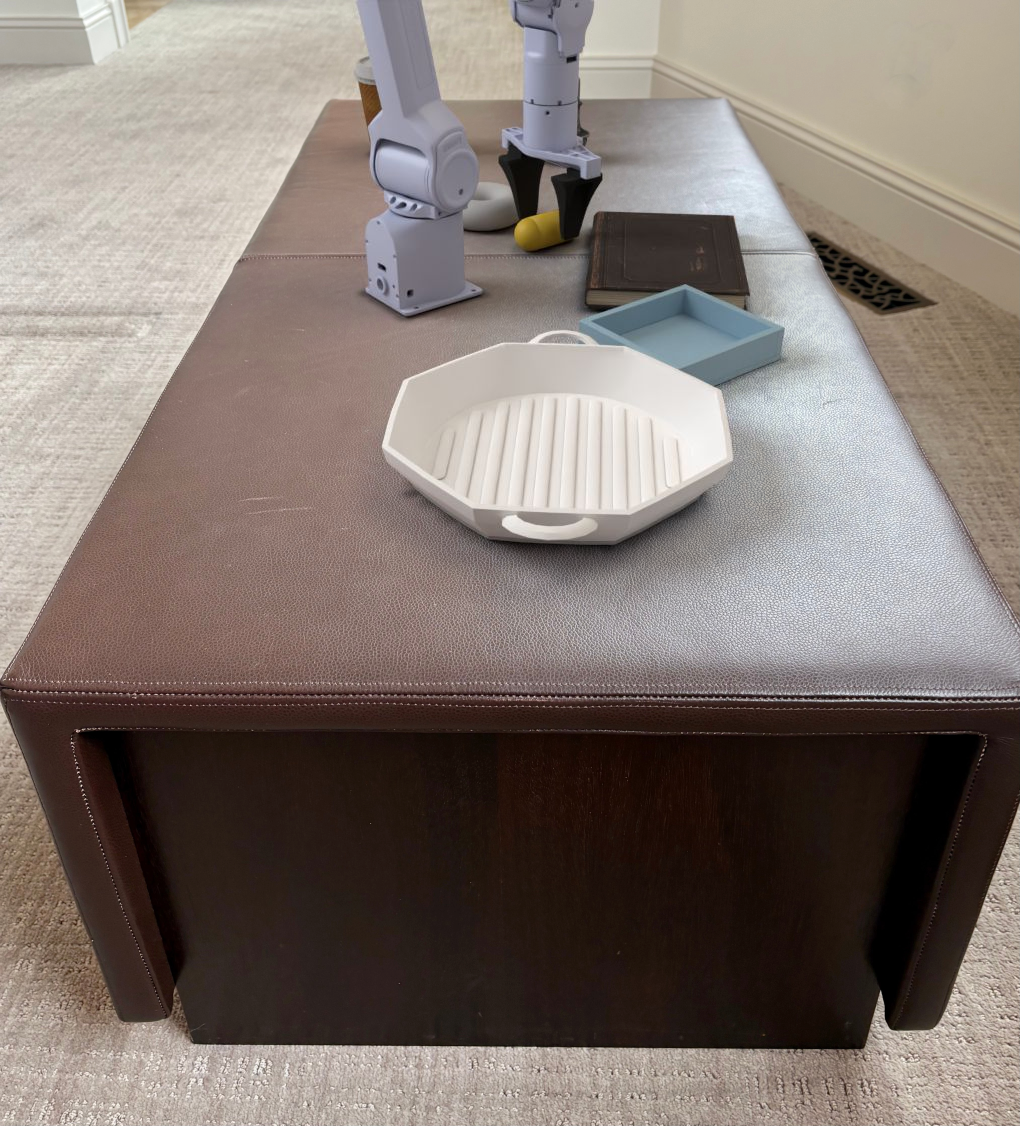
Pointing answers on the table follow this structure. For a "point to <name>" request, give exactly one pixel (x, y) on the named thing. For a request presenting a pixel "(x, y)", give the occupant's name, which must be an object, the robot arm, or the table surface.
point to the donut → (490, 208)
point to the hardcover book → (663, 257)
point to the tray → (690, 333)
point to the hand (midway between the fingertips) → (548, 227)
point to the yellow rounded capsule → (539, 231)
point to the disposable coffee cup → (367, 89)
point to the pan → (559, 440)
